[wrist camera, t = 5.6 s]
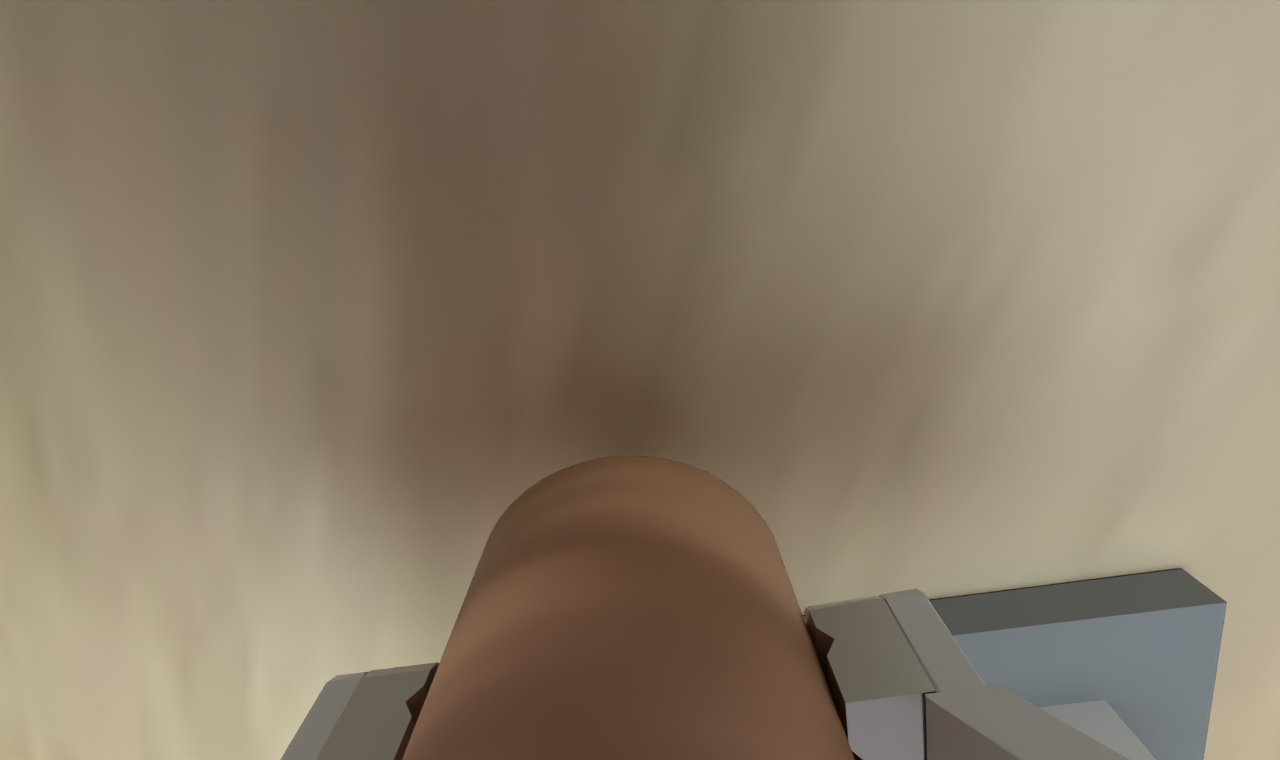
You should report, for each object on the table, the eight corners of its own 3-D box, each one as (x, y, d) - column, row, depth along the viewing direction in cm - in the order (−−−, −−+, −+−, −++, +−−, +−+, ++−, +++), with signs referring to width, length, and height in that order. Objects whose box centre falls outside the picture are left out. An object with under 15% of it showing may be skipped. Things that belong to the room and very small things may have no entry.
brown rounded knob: (521, 723, 11) (434, 1143, 6) (441, 484, 9) (244, 816, 5) (796, 685, 11) (922, 1095, 6) (766, 431, 9) (905, 725, 4)
